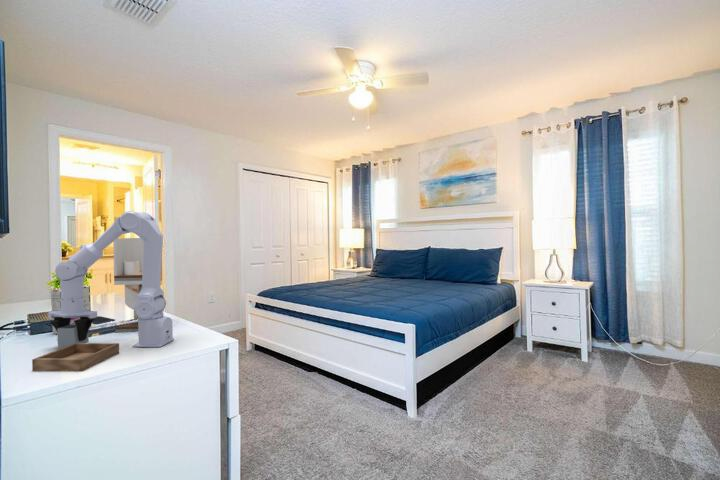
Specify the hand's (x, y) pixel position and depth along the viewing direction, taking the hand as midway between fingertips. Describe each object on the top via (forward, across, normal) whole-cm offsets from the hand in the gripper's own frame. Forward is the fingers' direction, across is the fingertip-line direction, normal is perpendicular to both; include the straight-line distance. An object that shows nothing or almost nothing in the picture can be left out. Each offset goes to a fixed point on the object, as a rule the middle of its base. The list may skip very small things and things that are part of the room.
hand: (73, 340), depth 111 cm
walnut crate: (+3, +12, -12) cm, 17 cm away
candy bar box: (+2, -17, +19) cm, 26 cm away
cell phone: (+3, -19, +34) cm, 39 cm away
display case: (+3, +6, +23) cm, 24 cm away
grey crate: (+2, 0, 0) cm, 2 cm away
